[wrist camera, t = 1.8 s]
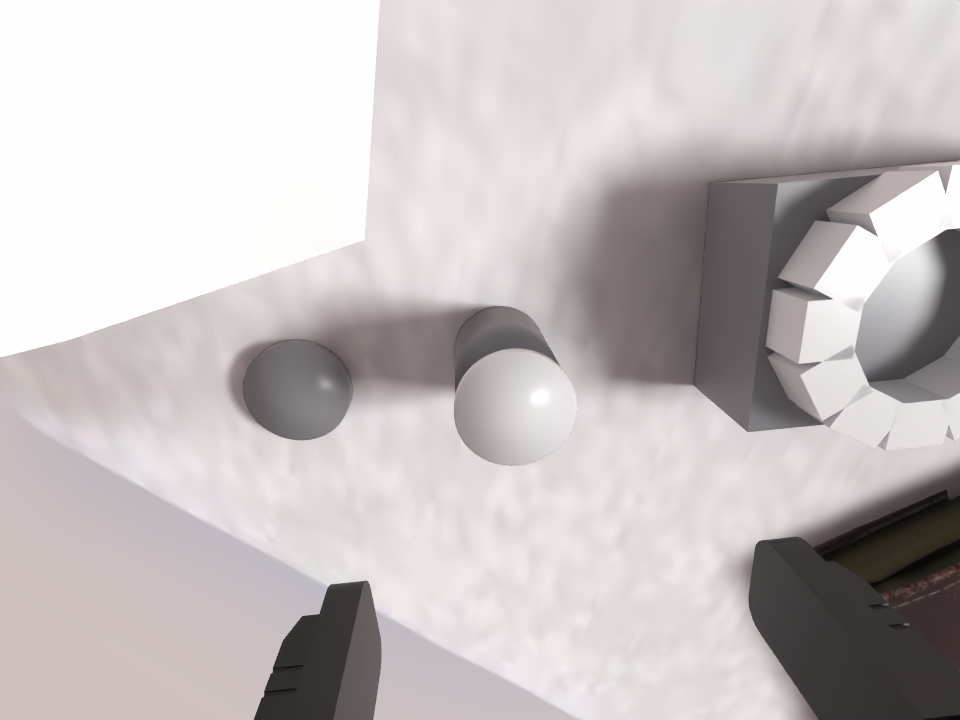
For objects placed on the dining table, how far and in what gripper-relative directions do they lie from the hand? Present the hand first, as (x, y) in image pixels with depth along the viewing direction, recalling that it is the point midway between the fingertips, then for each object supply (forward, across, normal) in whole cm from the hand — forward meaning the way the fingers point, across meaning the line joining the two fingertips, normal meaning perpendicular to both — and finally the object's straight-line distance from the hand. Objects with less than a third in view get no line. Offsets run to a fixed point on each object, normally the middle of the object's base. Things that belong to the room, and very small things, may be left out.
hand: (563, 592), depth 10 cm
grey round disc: (+16, +10, +1) cm, 19 cm away
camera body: (+15, -17, -2) cm, 23 cm away
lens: (+15, 0, 0) cm, 15 cm away
